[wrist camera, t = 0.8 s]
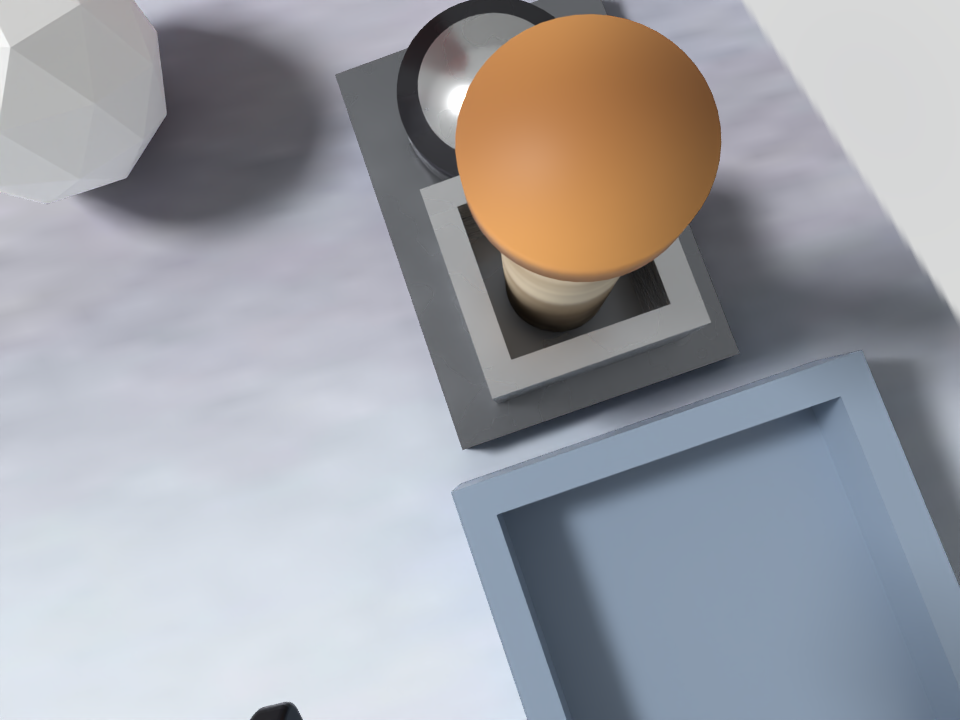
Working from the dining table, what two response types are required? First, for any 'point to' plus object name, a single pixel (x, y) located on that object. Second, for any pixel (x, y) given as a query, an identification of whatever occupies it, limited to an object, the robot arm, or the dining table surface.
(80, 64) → the ball
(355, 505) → the dining table surface
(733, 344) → the grey piece
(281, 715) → the robot arm
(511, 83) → the orange-brown round-topped piece
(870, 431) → the tray
